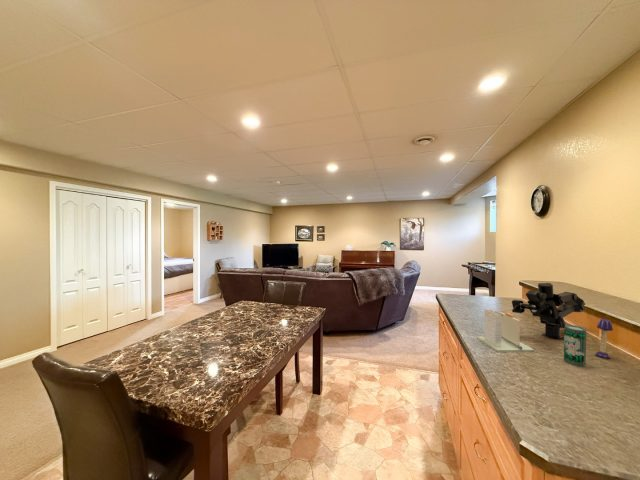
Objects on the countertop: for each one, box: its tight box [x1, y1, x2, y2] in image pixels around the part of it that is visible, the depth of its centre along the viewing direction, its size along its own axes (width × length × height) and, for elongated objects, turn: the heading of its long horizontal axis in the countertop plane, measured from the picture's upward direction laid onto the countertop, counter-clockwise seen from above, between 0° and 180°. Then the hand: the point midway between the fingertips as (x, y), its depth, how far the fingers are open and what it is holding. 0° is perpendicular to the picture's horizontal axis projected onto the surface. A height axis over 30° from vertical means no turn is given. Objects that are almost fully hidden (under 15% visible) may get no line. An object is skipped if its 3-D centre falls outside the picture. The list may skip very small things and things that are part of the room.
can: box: [563, 324, 587, 368], centre depth 105 cm, size 6×6×15 cm
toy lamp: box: [595, 318, 614, 360], centre depth 109 cm, size 5×5×17 cm
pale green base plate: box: [476, 335, 535, 353], centre depth 122 cm, size 17×15×2 cm
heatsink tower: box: [483, 309, 503, 347], centre depth 122 cm, size 5×8×15 cm, turn 0°
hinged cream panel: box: [499, 311, 521, 347], centre depth 122 cm, size 1×13×14 cm, turn 0°
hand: (522, 312), depth 121 cm, fingers open, 9 cm apart
